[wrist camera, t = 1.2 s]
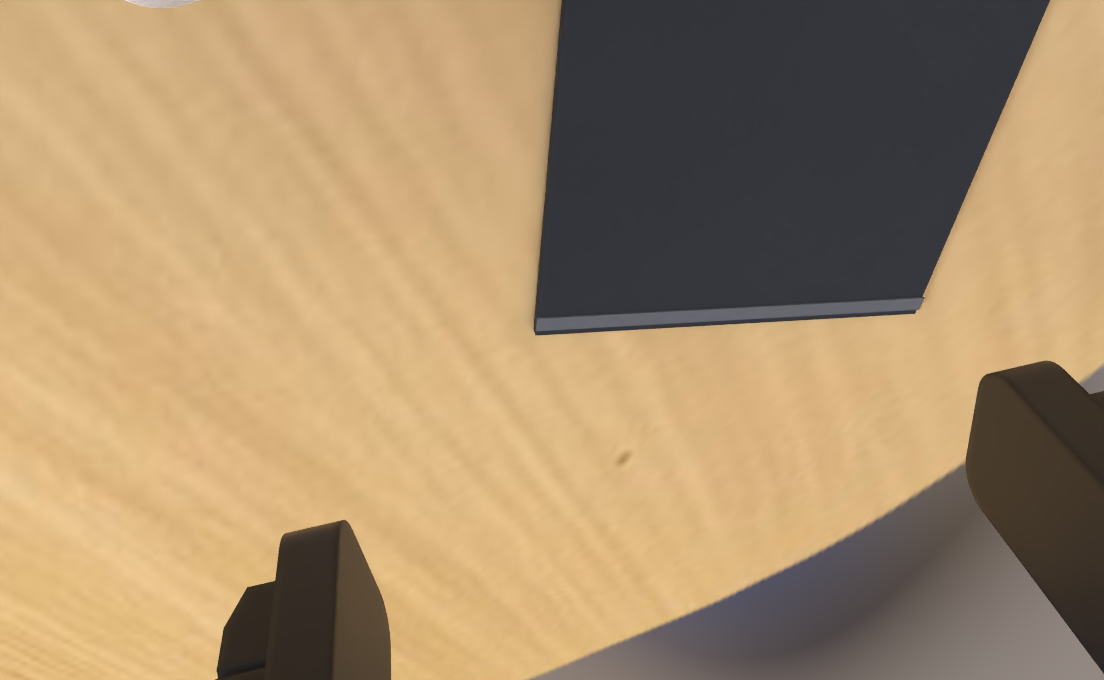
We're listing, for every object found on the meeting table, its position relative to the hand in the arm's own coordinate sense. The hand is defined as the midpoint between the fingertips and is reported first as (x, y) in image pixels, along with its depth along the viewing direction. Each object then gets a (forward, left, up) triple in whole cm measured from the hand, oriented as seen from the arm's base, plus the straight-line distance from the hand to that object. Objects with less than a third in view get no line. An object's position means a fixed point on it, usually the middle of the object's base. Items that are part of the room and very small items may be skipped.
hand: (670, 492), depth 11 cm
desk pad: (+10, -6, -19) cm, 22 cm away
